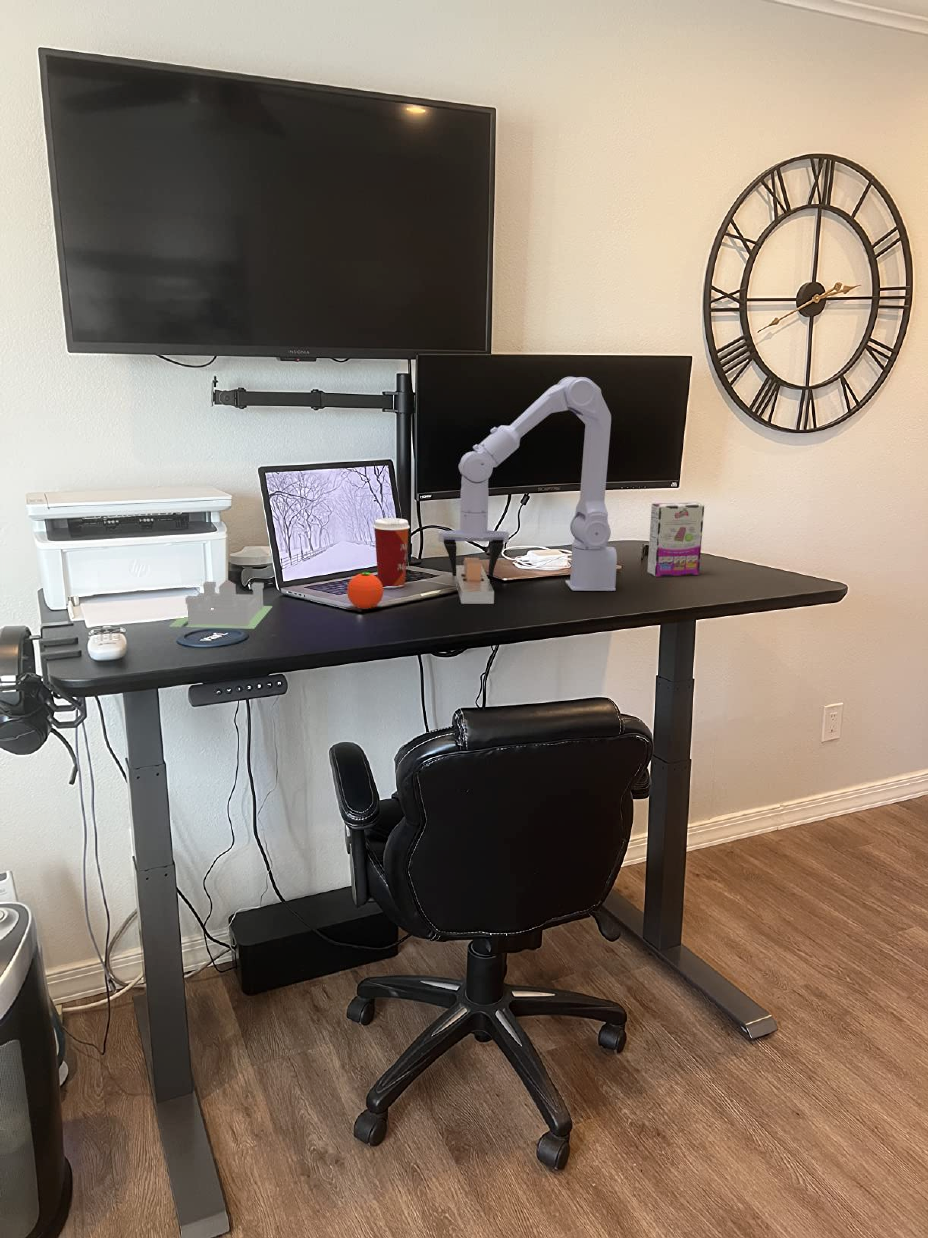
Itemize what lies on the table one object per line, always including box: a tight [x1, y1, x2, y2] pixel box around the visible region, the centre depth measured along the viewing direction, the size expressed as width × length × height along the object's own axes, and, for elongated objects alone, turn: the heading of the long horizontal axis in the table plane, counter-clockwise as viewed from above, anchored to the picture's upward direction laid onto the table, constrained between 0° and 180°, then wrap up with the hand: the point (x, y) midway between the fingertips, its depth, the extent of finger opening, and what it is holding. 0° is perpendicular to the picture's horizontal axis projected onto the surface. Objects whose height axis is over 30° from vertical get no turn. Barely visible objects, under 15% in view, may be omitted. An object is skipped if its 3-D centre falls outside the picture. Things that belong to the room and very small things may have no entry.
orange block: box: [463, 557, 482, 581], centre depth 188 cm, size 3×6×6 cm, turn 5°
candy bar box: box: [647, 502, 705, 578], centre depth 205 cm, size 11×5×16 cm, turn 104°
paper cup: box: [372, 517, 411, 586], centre depth 188 cm, size 8×8×14 cm
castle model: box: [168, 579, 273, 630], centre depth 164 cm, size 15×15×7 cm
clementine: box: [346, 571, 384, 610], centre depth 172 cm, size 8×7×7 cm
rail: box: [453, 564, 495, 605], centre depth 189 cm, size 6×24×2 cm, turn 5°
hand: (472, 575), depth 188 cm, fingers open, 7 cm apart
